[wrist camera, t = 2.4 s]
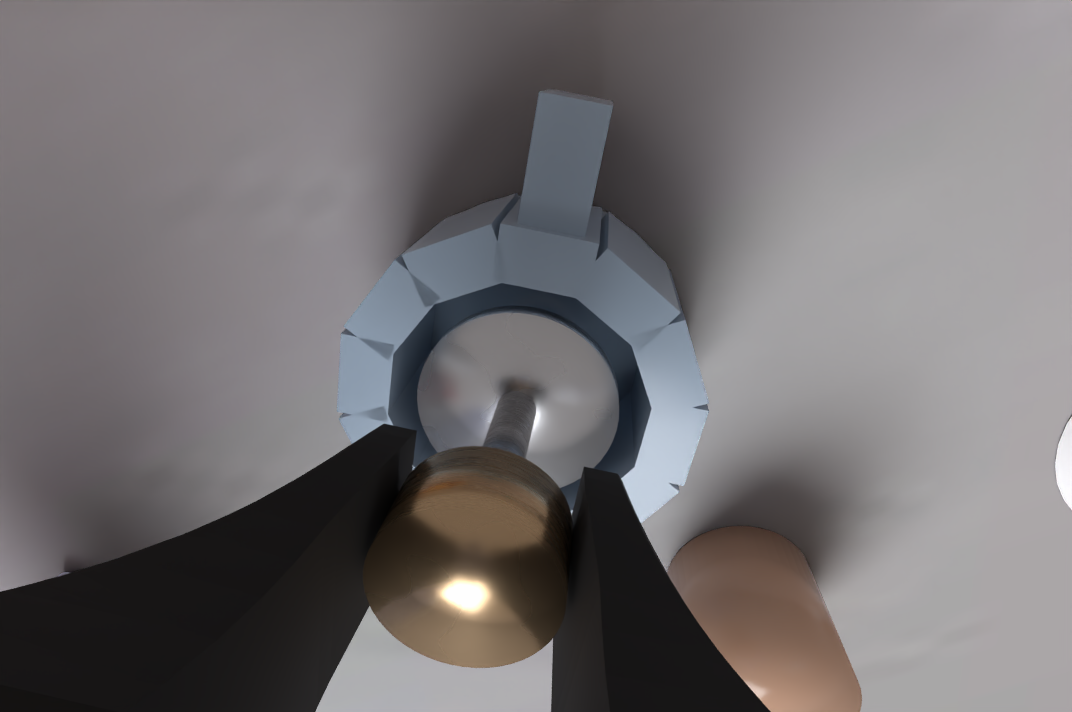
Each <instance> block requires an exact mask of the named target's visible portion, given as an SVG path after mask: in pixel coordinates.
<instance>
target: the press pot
mask: <svg viewBox="0 0 1072 712" xmlns="http://www.w3.org/2000/svg"><path fill="white" fill-rule="evenodd" d="M612 109H613V101H611V100H606V99H601V98H596V97H591V96H586V95H581V94H576V93H571V92H566V91H561V90H556V89H550V90H544V91H539V95H538V101H537V107H536V113H535V119H534V125H533V131H532V137H531V143H530V149H529V155H528V161H527V167H526V173H525V179H524V185H523V191H522V195H518V193H515V194H512V195H509V196H506V197H502V198H499V199H495V200H491V201H488V202H484V203H482V204H479V205H477V206H475V207H473V208H470V209H468V210H466V211H464V212H461V213H458V214H455V215H452V216H450V217H447V218H445V219H444V220H443V221H441V222H440V223H438V224H437V225H436V226H435V227H434V228H432V229H431V230H430V231H429V232H427V233H426V234H425V235H424V236H423V237H421V238H420V239H419V240H418V241H417V242H415V243H414V244H413V245H412V246H411V247H409V248H408V249H407V250H406V251H405V252H403V253H402V254H401V255H400V256H399V257H397V258H396V259H395V260H394V261H393V263H392V264H391V265H390V267H389V268H388V269H387V270H386V272H385V273H384V274H383V276H382V277H381V278H380V280H379V281H378V282H377V284H376V285H375V286H374V287H373V289H372V290H371V291H370V293H369V294H368V295H367V297H366V298H365V299H364V300H363V302H362V303H361V304H360V306H359V307H358V308H357V310H356V311H355V312H354V314H353V315H352V316H351V317H350V319H349V320H348V321H347V323H346V324H345V325H344V327H345V328H346V329H345V330H344V331H343V332H342V333H341V344H340V363H339V382H338V401H337V412H341V413H343V414H342V415H341V416H340V418H339V420H340V422H341V424H342V426H343V428H344V430H345V432H346V434H347V436H348V437H349V439H350V441H351V443H352V444H353V443H354V442H356V441H357V440H359V439H360V438H362V437H363V436H365V435H366V434H368V433H369V432H371V431H373V430H374V429H376V428H377V427H379V426H381V425H382V424H389V425H393V426H398V427H403V428H407V429H412V430H417V434H416V442H415V451H414V460H413V468H412V470H413V469H414V468H415V467H417V466H418V465H419V464H420V463H421V462H423V461H424V460H426V459H427V458H429V457H431V456H433V455H435V454H437V453H438V452H437V451H436V450H435V448H434V447H433V446H432V444H431V443H430V441H429V439H428V437H427V435H426V433H425V431H424V428H423V426H422V423H421V420H420V416H419V412H418V403H417V390H418V383H419V378H420V375H421V372H422V369H423V366H424V364H425V362H426V360H427V358H428V356H429V355H430V353H431V352H432V350H433V349H434V347H435V346H436V344H437V343H438V342H439V340H440V339H441V338H442V336H443V335H444V334H445V333H446V332H447V331H448V330H449V329H450V328H452V327H453V326H454V325H456V324H457V323H458V322H460V321H461V320H463V319H465V318H466V317H468V316H470V315H472V314H475V313H477V312H480V311H482V310H486V309H490V308H494V307H501V306H528V307H535V308H540V309H543V310H547V311H551V312H553V313H555V314H558V315H560V316H563V317H565V318H566V319H568V320H570V321H572V322H573V323H575V324H576V325H578V326H579V327H581V328H582V329H583V330H585V331H586V332H587V333H588V334H589V335H590V336H591V337H592V338H593V339H594V340H595V341H596V342H597V343H598V345H599V346H600V347H601V348H602V350H603V351H604V353H605V354H606V356H607V358H608V359H609V361H610V363H611V366H612V368H613V370H614V373H615V376H616V380H617V384H618V392H619V420H618V426H617V431H616V434H615V436H614V439H613V442H612V444H611V446H610V448H609V449H608V451H607V453H606V454H605V456H604V457H603V458H602V460H601V461H600V462H599V463H598V464H597V465H596V466H595V467H594V469H598V470H603V471H608V472H612V473H617V474H618V475H619V476H620V478H621V479H622V481H623V484H624V486H625V489H626V491H627V494H628V496H629V499H630V501H631V503H632V505H633V508H634V510H635V512H636V514H637V516H638V519H639V521H640V523H642V522H643V521H644V520H646V519H647V518H648V517H649V516H651V515H652V514H653V513H654V512H655V511H657V510H658V509H659V508H660V507H662V506H663V505H664V504H665V503H666V502H668V501H669V500H670V499H671V498H673V497H674V496H675V495H676V494H678V493H679V486H678V485H682V486H684V484H685V481H686V478H687V475H688V472H689V469H690V466H691V463H692V460H693V457H694V454H695V451H696V448H697V445H698V442H699V439H700V436H701V433H702V430H703V427H704V424H705V422H706V419H707V416H708V413H709V410H708V406H707V404H709V401H708V397H707V394H706V390H705V387H704V383H703V380H702V376H701V373H700V369H699V366H698V362H697V359H696V355H695V352H694V348H693V345H692V341H691V338H690V334H689V331H688V327H687V324H686V320H685V317H684V314H683V310H682V307H681V304H680V300H679V297H678V294H677V290H676V287H675V284H674V281H673V277H672V274H671V271H670V269H668V267H667V264H666V262H665V261H664V260H662V259H661V258H660V257H659V256H658V255H657V254H656V253H655V252H654V251H653V250H652V249H651V247H650V246H649V245H648V244H647V243H646V242H645V241H644V240H643V239H642V238H641V237H640V236H639V235H638V234H637V233H636V232H634V231H633V230H632V229H631V228H629V227H628V226H627V225H626V224H624V223H623V222H622V221H620V220H618V219H617V218H616V217H615V216H614V215H613V214H612V213H610V212H608V213H607V212H605V211H603V210H602V208H601V207H596V206H592V203H593V198H594V193H595V188H596V184H597V179H598V174H599V170H600V165H601V160H602V156H603V151H604V146H605V142H606V137H607V132H608V128H609V123H610V118H611V114H612ZM580 480H581V478H580V479H578V480H577V481H575V482H573V483H571V484H569V485H566V486H564V487H562V488H560V489H561V491H562V492H563V494H564V496H565V498H566V500H567V502H568V504H569V508H570V511H571V515H572V512H573V508H574V504H575V500H576V496H577V492H578V488H579V484H580Z"/></svg>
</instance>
